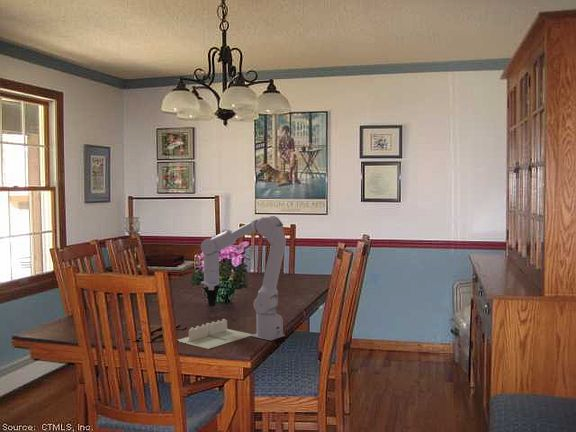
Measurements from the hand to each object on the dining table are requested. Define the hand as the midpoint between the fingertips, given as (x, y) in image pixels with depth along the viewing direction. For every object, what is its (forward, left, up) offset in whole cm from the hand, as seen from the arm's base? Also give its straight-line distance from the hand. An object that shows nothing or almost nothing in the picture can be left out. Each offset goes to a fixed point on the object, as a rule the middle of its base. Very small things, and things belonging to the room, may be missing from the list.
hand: (212, 305), depth 220 cm
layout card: (-8, +6, -10) cm, 14 cm away
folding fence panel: (-4, +1, -10) cm, 10 cm away
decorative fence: (+15, +15, -11) cm, 24 cm away
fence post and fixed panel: (-4, +10, -10) cm, 15 cm away
